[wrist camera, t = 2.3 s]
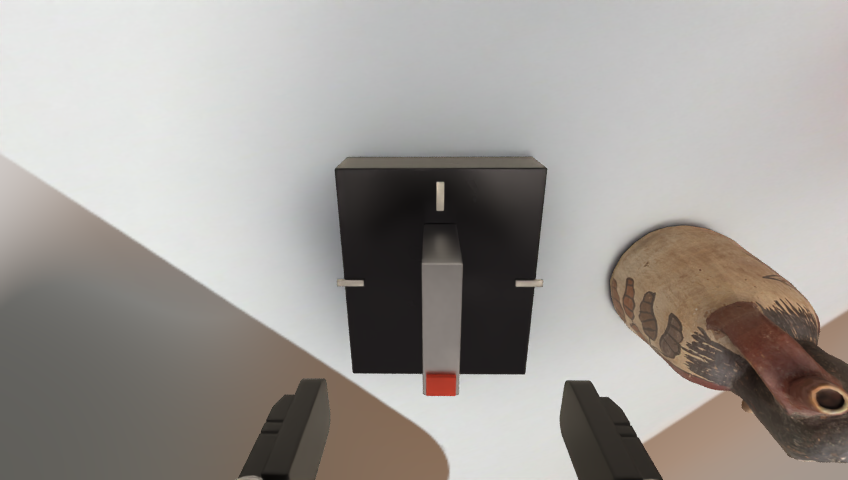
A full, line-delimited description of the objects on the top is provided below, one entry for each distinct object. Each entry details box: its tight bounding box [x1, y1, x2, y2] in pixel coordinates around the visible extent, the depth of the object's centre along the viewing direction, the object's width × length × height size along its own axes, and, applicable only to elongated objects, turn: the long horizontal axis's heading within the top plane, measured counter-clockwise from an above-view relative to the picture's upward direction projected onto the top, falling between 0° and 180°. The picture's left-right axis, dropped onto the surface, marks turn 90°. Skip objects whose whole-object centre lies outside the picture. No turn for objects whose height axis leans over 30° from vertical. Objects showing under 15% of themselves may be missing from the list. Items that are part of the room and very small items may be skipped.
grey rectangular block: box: [422, 224, 463, 396], centre depth 19 cm, size 6×2×5 cm, turn 0°
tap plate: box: [335, 157, 547, 374], centre depth 22 cm, size 12×11×3 cm
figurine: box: [610, 225, 848, 463], centre depth 19 cm, size 7×7×12 cm
